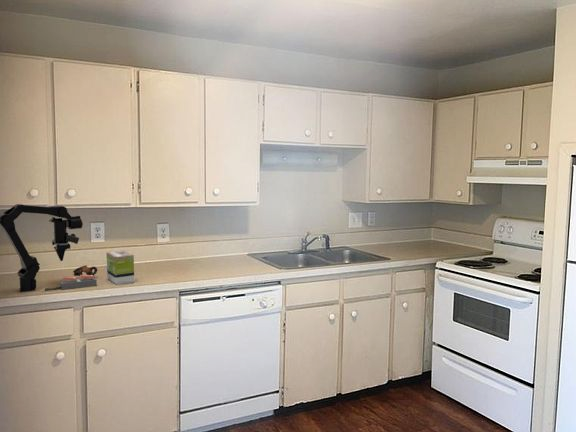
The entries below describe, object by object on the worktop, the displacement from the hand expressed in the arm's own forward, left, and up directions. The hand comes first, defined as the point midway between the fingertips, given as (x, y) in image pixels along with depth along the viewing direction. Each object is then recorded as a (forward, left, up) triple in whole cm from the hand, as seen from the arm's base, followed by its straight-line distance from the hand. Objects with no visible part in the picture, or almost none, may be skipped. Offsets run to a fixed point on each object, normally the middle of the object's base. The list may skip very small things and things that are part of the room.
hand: (61, 260), depth 239 cm
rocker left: (+2, -10, -8) cm, 13 cm away
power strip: (+2, -10, -12) cm, 16 cm away
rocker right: (+10, -10, -8) cm, 16 cm away
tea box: (+27, -8, -12) cm, 31 cm away
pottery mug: (+12, +6, -12) cm, 19 cm away
